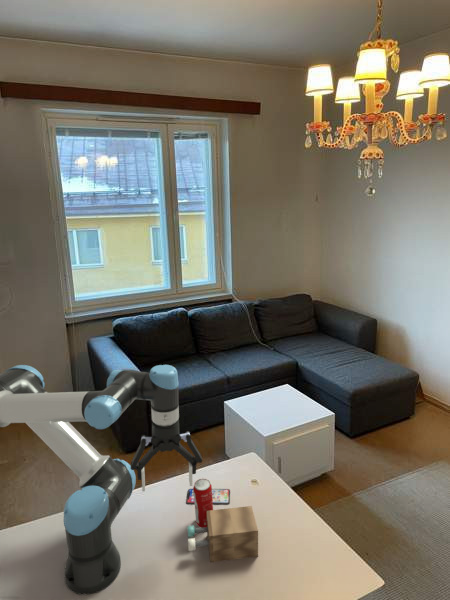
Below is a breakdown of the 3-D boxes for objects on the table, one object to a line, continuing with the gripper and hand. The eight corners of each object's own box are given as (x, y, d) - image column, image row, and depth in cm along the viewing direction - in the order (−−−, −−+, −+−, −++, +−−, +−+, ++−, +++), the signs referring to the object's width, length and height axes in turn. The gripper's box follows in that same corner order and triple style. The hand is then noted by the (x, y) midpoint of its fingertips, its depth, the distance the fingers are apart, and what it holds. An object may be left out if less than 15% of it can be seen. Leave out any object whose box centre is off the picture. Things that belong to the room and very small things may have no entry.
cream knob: (188, 553, 121) (188, 544, 121) (188, 545, 124) (187, 536, 123) (216, 550, 122) (216, 541, 121) (215, 541, 125) (215, 533, 124)
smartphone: (229, 503, 144) (185, 503, 145) (229, 506, 144) (185, 505, 145) (230, 488, 151) (188, 488, 152) (230, 490, 152) (188, 490, 152)
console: (210, 562, 122) (209, 536, 120) (207, 535, 131) (206, 510, 129) (258, 556, 123) (258, 530, 121) (251, 530, 133) (251, 505, 131)
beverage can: (214, 516, 139) (213, 476, 136) (212, 531, 133) (210, 490, 129) (197, 515, 140) (195, 475, 136) (193, 530, 133) (191, 489, 130)
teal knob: (188, 539, 126) (187, 531, 125) (187, 532, 129) (187, 523, 128) (214, 536, 127) (214, 528, 126) (213, 529, 130) (213, 520, 129)
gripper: (118, 431, 112) (122, 499, 118) (211, 423, 117) (211, 489, 122) (120, 416, 120) (124, 481, 125) (207, 409, 124) (208, 472, 129)
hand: (167, 485), depth 123 cm, fingers open, 13 cm apart
